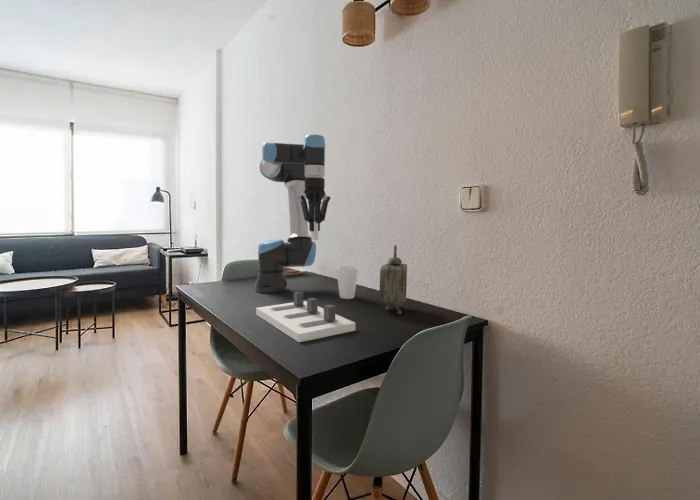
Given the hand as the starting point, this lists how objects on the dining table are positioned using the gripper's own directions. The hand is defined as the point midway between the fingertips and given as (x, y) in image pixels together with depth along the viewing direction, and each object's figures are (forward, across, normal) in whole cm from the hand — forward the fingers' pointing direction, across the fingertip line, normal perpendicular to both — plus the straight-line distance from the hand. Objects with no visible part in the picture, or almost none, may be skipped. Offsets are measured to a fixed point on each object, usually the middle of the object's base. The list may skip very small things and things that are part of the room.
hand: (314, 239), depth 146 cm
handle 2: (+23, -9, -26) cm, 36 cm away
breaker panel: (+26, -13, -15) cm, 33 cm away
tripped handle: (+23, -9, -15) cm, 29 cm away
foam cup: (+27, +20, +7) cm, 34 cm away
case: (+27, +20, +78) cm, 85 cm away
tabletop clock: (+27, +23, -20) cm, 40 cm away
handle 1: (+23, -9, -4) cm, 25 cm away
